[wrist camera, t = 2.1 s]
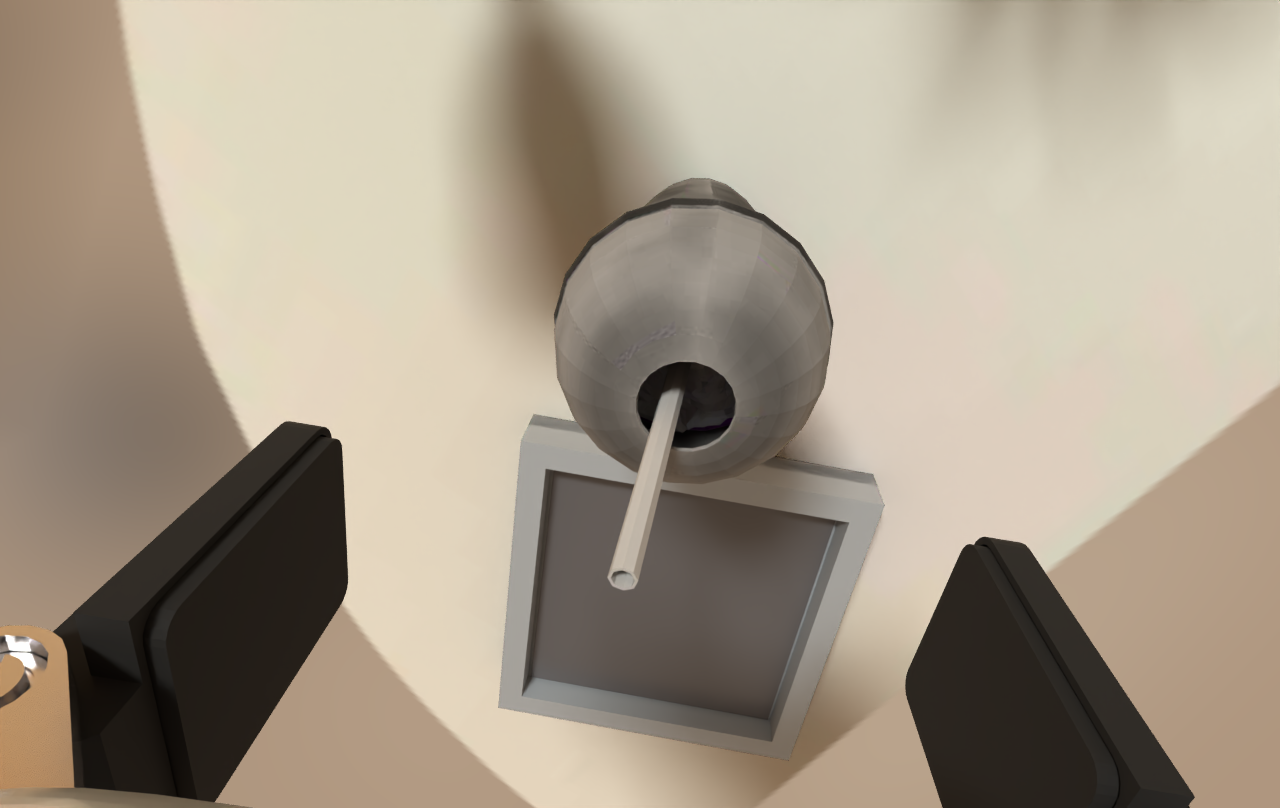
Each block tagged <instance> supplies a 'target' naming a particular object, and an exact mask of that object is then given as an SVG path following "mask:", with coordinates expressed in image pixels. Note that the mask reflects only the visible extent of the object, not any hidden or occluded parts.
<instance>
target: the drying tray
mask: <svg viewBox="0 0 1280 808" xmlns="http://www.w3.org/2000/svg"><path fill="white" fill-rule="evenodd" d="M637 474H638V473H636V472H633V471H632V470H630V469H629V468H627V467H626V466H624V465H623V464H621V463H620V462H618V461H617V460H615V459H614V458H612V457H611V456H609V455H608V454H606V453H605V452H603V451H602V450H600V449H599V448H598V447H597V446H596V444H595V443H594V442H593V441H592V440H591V438H590V437H589V436H588V435H587V434H586V432H585V431H584V430H583V429H582V428H581V426H580V425H579V424H578V423H577V422H574V421H568V420H563V419H557V418H551V417H546V416H540V415H533V417H532V419H531V421H530V423H529V425H528V427H527V429H526V431H525V433H524V436H523V438H522V440H521V446H520V458H519V470H518V481H517V493H516V505H515V517H514V529H513V540H512V552H511V564H510V576H509V588H508V599H507V611H506V623H505V635H504V647H503V658H502V670H501V682H500V694H499V705H498V708H503V709H508V710H514V711H519V712H525V713H530V714H535V715H541V716H546V717H552V718H557V719H563V720H568V721H574V722H579V723H585V724H590V725H596V726H601V727H607V728H612V729H618V730H623V731H629V732H634V733H640V734H645V735H651V736H656V737H662V738H667V739H673V740H678V741H684V742H689V743H695V744H700V745H706V746H711V747H717V748H722V749H728V750H733V751H739V752H744V753H750V754H755V755H761V756H766V757H772V758H777V759H782V760H788V761H789V759H790V756H791V753H792V751H793V748H794V745H795V743H796V740H797V737H798V735H799V732H800V729H801V727H802V724H803V721H804V719H805V716H806V713H807V711H808V708H809V705H810V703H811V700H812V697H813V695H814V692H815V689H816V687H817V684H818V681H819V679H820V676H821V673H822V671H823V668H824V665H825V663H826V660H827V657H828V655H829V652H830V649H831V647H832V644H833V641H834V639H835V636H836V633H837V631H838V628H839V625H840V623H841V620H842V617H843V615H844V612H845V609H846V607H847V604H848V601H849V599H850V596H851V593H852V591H853V588H854V585H855V583H856V580H857V577H858V575H859V572H860V569H861V567H862V564H863V561H864V559H865V556H866V553H867V551H868V548H869V545H870V543H871V540H872V537H873V535H874V532H875V529H876V527H877V524H878V521H879V519H880V516H881V514H882V511H883V508H884V506H885V505H884V502H883V500H882V497H881V494H880V492H879V489H878V486H877V484H876V481H875V478H874V476H873V474H868V473H863V472H857V471H851V470H846V469H840V468H834V467H829V466H823V465H817V464H812V463H806V462H800V461H795V460H789V459H783V458H778V457H772V458H771V459H769V460H767V461H765V462H763V463H761V464H760V465H758V466H756V467H754V468H752V469H750V470H748V471H747V472H745V473H743V474H741V475H739V476H737V477H732V478H728V479H723V480H719V481H714V482H710V483H705V484H690V483H669V482H664V481H662V486H661V490H660V494H659V498H658V502H657V506H656V510H655V514H654V518H653V522H652V527H651V531H650V535H649V539H648V543H647V547H646V551H645V555H644V559H643V563H642V567H641V572H640V576H639V580H638V582H637V584H636V586H635V587H634V589H629V590H621V589H618V588H616V587H614V586H612V585H611V583H610V581H609V579H608V578H607V577H608V574H609V570H610V567H611V564H612V560H613V557H614V553H615V550H616V546H617V543H618V539H619V536H620V533H621V529H622V526H623V522H624V519H625V515H626V512H627V509H628V505H629V502H630V498H631V495H632V491H633V488H634V484H635V481H636V478H637Z"/></svg>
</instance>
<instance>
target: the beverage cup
mask: <svg viewBox="0 0 1280 808" xmlns="http://www.w3.org/2000/svg"><path fill="white" fill-rule="evenodd" d="M554 320H555V329H554V330H555V348H556V365H557V378H558V380H559V383H560V385H561V388H562V390H563V393H564V395H565V398H566V400H567V403H568V405H569V407H570V410H571V412H572V415H573V417H574V419H575V420H576V422H577V423H578V424H579V425H580V426H581V428H582V429H583V430H584V431H585V432H586V434H587V435H588V436H589V437H590V438H591V440H592V441H593V442H594V443H595V444H596V446H597V447H598V448H599V449H600V450H602V451H603V452H605V453H606V454H608V455H609V456H611V457H612V458H614V459H615V460H617V461H618V462H620V463H621V464H623V465H624V466H626V467H627V468H629V469H630V470H632V471H633V472H636V473H638V474H637V478H636V481H635V484H634V488H633V491H632V495H631V498H630V502H629V505H628V509H627V512H626V515H625V519H624V522H623V526H622V529H621V533H620V536H619V539H618V543H617V546H616V550H615V553H614V557H613V560H612V564H611V567H610V570H609V574H608V577H607V578H608V579H609V581H610V583H611V585H612V586H614V587H616V588H618V589H621V590H629V589H634V587H635V586H636V584H637V582H638V580H639V576H640V572H641V567H642V563H643V559H644V555H645V551H646V547H647V543H648V539H649V535H650V531H651V527H652V522H653V518H654V514H655V510H656V506H657V502H658V498H659V494H660V490H661V486H662V481H664V482H669V483H690V484H705V483H710V482H714V481H719V480H723V479H728V478H732V477H737V476H739V475H741V474H743V473H745V472H747V471H748V470H750V469H752V468H754V467H756V466H758V465H760V464H761V463H763V462H765V461H767V460H769V459H771V458H772V457H774V456H776V455H777V454H778V453H779V452H780V451H781V450H782V449H783V448H784V446H785V445H786V444H787V443H788V442H789V441H790V440H791V439H792V438H793V437H794V436H795V435H796V434H797V433H798V432H799V431H800V430H801V429H802V428H803V426H804V425H805V423H806V422H807V420H808V418H809V416H810V414H811V412H812V410H813V408H814V406H815V404H816V402H817V400H818V398H819V396H820V394H821V392H822V390H823V388H824V384H825V379H826V372H827V366H828V361H829V353H830V345H831V337H832V329H833V319H832V314H831V310H830V305H829V300H828V296H827V291H826V287H825V282H824V280H823V278H822V277H821V275H820V273H819V272H818V270H817V269H816V267H815V265H814V264H813V262H812V261H811V259H810V258H809V256H808V254H807V253H806V251H805V250H804V248H803V246H802V245H801V243H800V242H798V241H797V240H796V239H795V238H793V237H792V236H791V235H789V234H788V233H787V232H786V231H784V230H783V229H782V228H781V227H779V226H778V225H777V224H776V223H774V222H773V221H772V220H770V219H769V218H768V217H767V216H765V215H764V214H761V213H758V212H756V211H755V210H754V209H753V208H752V207H751V205H750V204H749V203H748V202H747V200H746V199H745V198H743V197H742V196H741V195H739V194H738V193H737V192H736V191H734V190H733V189H732V188H731V187H729V186H728V185H726V184H723V183H721V182H718V181H715V180H712V179H706V178H691V179H688V180H684V181H681V182H678V183H675V184H673V185H671V186H669V187H668V188H666V189H665V190H664V191H662V192H661V193H659V194H658V195H657V196H655V197H654V198H653V199H652V200H651V201H650V202H649V203H647V204H646V205H645V206H644V207H642V208H639V209H635V210H632V211H629V212H626V213H625V214H624V215H622V216H621V217H620V218H618V219H617V220H615V221H614V222H613V223H611V224H610V225H609V226H607V227H606V228H604V229H603V230H602V231H600V232H599V233H598V234H596V235H595V236H594V237H592V238H591V239H590V240H589V241H588V243H587V244H586V246H585V247H584V249H583V250H582V251H581V253H580V254H579V256H578V257H577V259H576V260H575V261H574V263H573V264H572V266H571V267H570V269H569V270H568V271H567V273H566V274H565V278H564V281H563V285H562V288H561V292H560V296H559V299H558V303H557V306H556V310H555V313H554Z"/></svg>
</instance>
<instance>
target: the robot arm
mask: <svg viewBox="0 0 1280 808" xmlns="http://www.w3.org/2000/svg"><path fill="white" fill-rule="evenodd" d="M347 585H348V566H347V544H346V522H345V501H344V479H343V457H342V445H341V442H340V441H339V440H338V439H333V438H332V437H331V433H330V431H329V430H328V429H327V428H326V427H321V426H315V425H309V424H303V423H297V422H291V421H288V422H284V423H283V424H281V425H280V426H279V427H278V428H276V429H275V430H274V431H273V432H272V433H271V434H270V435H269V436H268V437H267V438H265V439H264V440H263V441H262V442H261V443H260V444H259V445H258V446H257V447H256V448H254V449H253V450H252V451H251V452H250V453H249V454H248V455H247V456H246V457H244V458H243V459H242V460H241V461H240V462H239V463H238V464H237V465H236V466H235V467H233V468H232V469H231V470H230V471H229V472H228V473H227V474H226V475H225V476H224V477H222V478H221V479H220V480H219V481H218V482H217V483H216V484H215V485H214V486H213V487H211V488H210V489H209V490H208V491H207V492H206V493H205V494H204V495H203V496H201V497H200V498H199V499H198V500H197V501H196V502H195V503H194V504H193V505H192V506H190V508H188V509H187V510H186V511H185V512H184V513H183V514H182V515H181V516H179V517H178V518H177V519H176V520H175V521H174V522H173V523H172V524H171V525H169V526H168V527H167V528H166V529H165V530H164V531H163V532H162V533H161V534H160V535H158V536H157V537H156V538H155V539H154V540H153V541H152V542H151V543H150V544H148V545H147V546H146V547H145V548H144V549H143V550H142V551H141V552H140V553H139V554H137V555H136V556H135V557H134V558H133V559H132V560H131V561H130V562H129V563H128V564H126V565H125V566H124V567H123V568H122V569H121V570H120V571H119V572H118V573H116V574H115V576H113V577H112V578H111V579H110V580H109V581H108V582H107V583H106V584H104V585H103V586H102V587H101V588H100V589H99V590H98V591H97V592H96V593H94V594H93V595H92V596H91V597H90V598H89V599H88V600H87V601H86V602H85V603H83V605H81V606H80V607H79V608H78V609H77V610H76V611H75V612H74V613H73V614H72V615H71V616H70V617H69V618H68V619H67V620H66V621H64V622H63V623H62V624H61V625H60V626H59V627H58V628H57V629H56V630H54V631H53V632H52V631H51V630H48V629H44V628H40V627H35V626H31V625H15V626H14V625H7V626H2V627H0V808H250V807H244V806H236V805H229V804H222V803H215V801H216V799H217V798H218V796H219V795H220V793H221V792H222V790H223V789H224V787H225V785H226V784H227V782H228V781H229V779H230V778H231V776H232V774H233V773H234V771H235V770H236V768H237V766H238V765H239V764H240V762H241V760H242V759H243V757H244V755H245V754H246V753H247V751H248V749H249V748H250V746H251V744H252V743H253V741H254V740H255V738H256V737H257V735H258V734H259V732H260V731H261V729H262V727H263V726H264V724H265V723H266V721H267V720H268V718H269V716H270V715H271V713H272V712H273V710H274V709H275V707H276V705H277V704H278V702H279V701H280V699H281V698H282V696H283V694H284V693H285V691H286V690H287V688H288V686H289V685H290V684H291V682H292V680H293V679H294V677H295V676H296V674H297V673H298V671H299V669H300V668H301V666H302V665H303V663H304V662H305V660H306V658H307V657H308V655H309V654H310V652H311V651H312V649H313V648H314V646H315V644H316V643H317V641H318V640H319V638H320V636H321V635H322V633H323V632H324V630H325V629H326V627H327V626H328V624H329V622H330V621H331V619H332V618H333V616H334V614H335V613H336V611H337V610H338V608H339V607H340V605H341V603H342V601H343V599H344V597H345V594H346V590H347ZM905 689H906V696H907V700H908V703H909V706H910V709H911V712H912V715H913V718H914V721H915V724H916V727H917V731H918V734H919V737H920V739H921V743H922V746H923V749H924V752H925V755H926V758H927V761H928V764H929V767H930V770H931V773H932V777H933V780H934V783H935V786H936V789H937V792H938V795H939V798H940V801H941V804H942V807H943V808H1190V807H1189V806H1188V805H1189V804H1190V802H1191V801H1192V800H1193V799H1194V798H1195V797H1194V795H1193V793H1192V792H1191V790H1190V789H1189V787H1188V786H1187V784H1186V783H1185V781H1184V780H1183V778H1182V777H1181V775H1180V774H1179V772H1178V771H1177V769H1176V768H1175V767H1174V765H1173V763H1172V762H1171V760H1170V759H1169V757H1168V756H1167V755H1166V753H1165V751H1164V750H1163V749H1162V747H1161V745H1160V744H1159V742H1158V741H1157V740H1156V738H1155V736H1154V735H1153V734H1152V732H1151V730H1150V729H1149V727H1148V726H1147V724H1146V723H1145V721H1144V720H1143V719H1142V717H1141V715H1140V714H1139V712H1138V711H1137V710H1136V708H1135V707H1134V705H1133V704H1132V702H1131V701H1130V699H1129V698H1128V696H1127V695H1126V693H1125V692H1124V690H1123V689H1122V687H1121V686H1120V684H1119V683H1118V681H1117V680H1116V678H1115V677H1114V675H1113V674H1112V672H1111V671H1110V669H1109V668H1108V666H1107V665H1106V663H1105V662H1104V660H1103V659H1102V657H1101V656H1100V654H1099V653H1098V651H1097V650H1096V648H1095V647H1094V645H1093V644H1092V642H1091V641H1090V639H1089V638H1088V636H1087V635H1086V633H1085V632H1084V630H1083V629H1082V627H1081V626H1080V624H1079V623H1078V621H1077V620H1076V618H1075V617H1074V615H1073V614H1072V612H1071V611H1070V609H1069V608H1068V606H1067V605H1066V603H1065V602H1064V600H1063V599H1062V597H1061V596H1060V594H1059V593H1058V591H1057V590H1056V588H1055V587H1054V585H1053V584H1052V582H1051V581H1050V579H1049V578H1048V576H1047V575H1046V573H1045V572H1044V570H1043V569H1042V567H1041V566H1040V564H1039V563H1038V561H1037V560H1036V558H1035V557H1034V555H1033V554H1032V552H1031V551H1030V549H1029V548H1028V547H1027V546H1026V545H1025V544H1022V543H1019V542H1013V541H1007V540H1001V539H995V538H989V537H982V538H980V539H978V540H977V541H976V542H975V544H974V545H972V544H969V545H966V546H965V547H964V548H963V550H962V551H961V553H960V555H959V558H958V560H957V562H956V564H955V567H954V569H953V571H952V573H951V576H950V578H949V580H948V582H947V585H946V587H945V589H944V591H943V593H942V596H941V598H940V600H939V602H938V605H937V607H936V609H935V611H934V614H933V616H932V618H931V620H930V623H929V625H928V627H927V629H926V631H925V634H924V636H923V638H922V640H921V643H920V645H919V647H918V649H917V652H916V654H915V656H914V658H913V661H912V663H911V665H910V667H909V669H908V672H907V676H906V684H905Z"/></svg>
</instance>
